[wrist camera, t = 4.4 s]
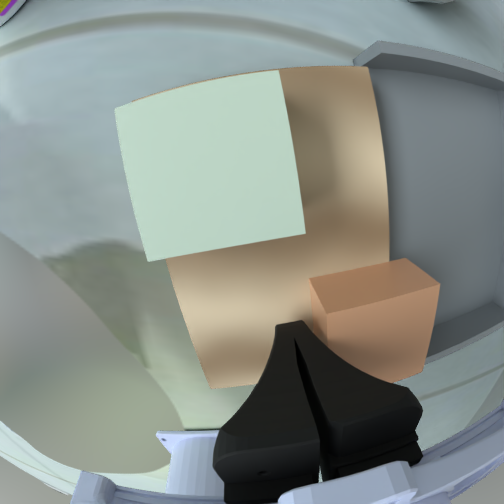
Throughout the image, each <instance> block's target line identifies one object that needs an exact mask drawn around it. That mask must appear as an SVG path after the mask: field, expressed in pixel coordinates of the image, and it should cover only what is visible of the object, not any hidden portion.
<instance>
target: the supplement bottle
mask: <svg viewBox="0 0 504 504" xmlns="http://www.w3.org/2000/svg"><path fill="white" fill-rule="evenodd" d="M25 1H26V0H0V26H1V25H2V24H4V23H5V22H6V21H7V20H8V19H10V18H11V17H12V16H13V15H14V14H15V13H16V12H17V11H18V9H19V8H20V7H21V6H22V5H23V4H24V2H25Z"/></svg>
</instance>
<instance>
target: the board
mask: <svg viewBox="0 0 504 504" xmlns="http://www.w3.org/2000/svg"><path fill="white" fill-rule="evenodd" d="M275 70H279V75H280V79H281V84H282V89H283V94H284V99H285V104H286V109H287V114H288V120H289V125H290V131H291V137H292V142H293V148H294V154H295V160H296V167H297V173H298V180H299V187H300V194H301V201H302V208H303V216H304V224H305V232H306V234H301V235H295V236H289V237H283V238H278V239H272V240H266V241H260V242H255V243H249V244H243V245H237V246H232V247H226V248H221V249H215V250H209V251H204V252H198V253H193V254H187V255H182V256H176V257H171V258H165V259H166V263H167V266H168V269H169V273H170V276H171V279H172V283H173V286H174V289H175V292H176V295H177V299H178V302H179V305H180V308H181V311H182V314H183V317H184V320H185V322H186V325H187V328H188V331H189V334H190V337H191V339H192V342H193V345H194V348H195V350H196V353H197V356H198V358H199V361H200V364H201V366H202V369H203V371H204V374H205V376H206V379H207V381H208V384H209V386H210V389H216V388H226V387H236V386H244V385H252V384H257V383H258V381H259V379H260V377H261V375H262V373H263V371H264V369H265V366H266V364H267V361H268V358H269V356H270V352H271V349H272V345H273V341H274V336H275V326H276V325H277V324H282V323H288V322H293V321H298V320H303V321H304V322H305V323H306V325H307V326H308V327H309V328H310V330H311V331H312V332H313V320H312V308H311V297H310V287H309V278H313V277H318V276H323V275H328V274H333V273H338V272H343V271H347V270H352V269H357V268H362V267H366V266H371V265H376V264H380V263H385V262H389V209H388V192H387V179H386V169H385V159H384V151H383V143H382V136H381V130H380V123H379V117H378V112H377V106H376V101H375V96H374V91H373V87H372V82H371V78H370V74H369V70H368V67H362V66H312V67H294V68H282V69H272V70H263V71H255V72H248V73H242V74H236V75H230V76H224V77H219V78H214V79H209V80H205V81H200V82H196V83H192V84H187V85H184V86H180V87H176V88H172V89H169V90H165V91H162V92H158V93H155V94H152V95H149V96H146V97H143V98H147V97H150V96H153V95H156V94H159V93H163V92H166V91H170V90H173V89H177V88H181V87H185V86H189V85H193V84H197V83H202V82H206V81H211V80H216V79H221V78H226V77H232V76H237V75H244V74H250V73H258V72H266V71H275ZM143 98H140V99H143ZM140 99H137V100H140ZM137 100H134V101H132V102H135V101H137ZM313 333H314V332H313Z"/></svg>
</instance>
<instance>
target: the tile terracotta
mask: <svg viewBox="0 0 504 504" xmlns="http://www.w3.org/2000/svg"><path fill="white" fill-rule="evenodd" d="M309 287H310V297H311V308H312V320H313V332H314V334H315V335H316V336H317V337H318V338H319V339H320V340H321V341H322V342H323V343H324V344H325V345H326V346H327V347H328V348H329V349H331V350H332V351H333V352H334V353H335V354H337V355H338V356H339V357H341V358H342V359H343V360H345V361H346V362H348V363H349V364H351V365H352V366H354V367H356V368H357V369H359V370H361V371H363V372H365V373H367V374H369V375H371V376H374V377H376V378H378V379H381V380H384V381H386V382H389V383H394V382H397V381H399V380H402V379H405V378H408V377H410V376H413V375H415V374H418V373H420V372H422V370H423V367H424V363H425V359H426V356H427V352H428V348H429V343H430V339H431V335H432V330H433V325H434V320H435V315H436V309H437V303H438V296H439V290H440V283H439V282H437V281H436V280H435V279H433V278H432V277H431V276H429V275H428V274H427V273H426V272H424V271H423V270H422V269H420V268H419V267H418V266H416V265H415V264H414V263H412V262H411V261H409V260H408V259H407V258H402V259H398V260H393V261H389V262H385V263H380V264H376V265H371V266H366V267H362V268H357V269H352V270H347V271H343V272H338V273H333V274H328V275H323V276H318V277H313V278H309Z"/></svg>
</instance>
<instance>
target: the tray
mask: <svg viewBox="0 0 504 504" xmlns="http://www.w3.org/2000/svg"><path fill="white" fill-rule="evenodd" d="M353 63H354V66H362V67H368V70H369V74H370V78H371V82H372V87H373V91H374V96H375V101H376V106H377V112H378V117H379V123H380V130H381V136H382V143H383V151H384V159H385V169H386V179H387V192H388V209H389V261H393V260H398V259H402V258H407V259H408V260H409V261H411V262H412V263H414V264H415V265H416V266H418V267H419V268H420V269H422V270H423V271H424V272H426V273H427V274H428V275H429V276H431V277H432V278H433V279H435V280H436V281H437V282H439V283H440V290H439V296H438V303H437V309H436V315H435V320H434V325H433V330H432V335H431V339H430V343H429V348H428V352H427V356H426V359H425V363H424V365H425V364H428V363H430V362H433V361H435V360H437V359H440V358H442V357H444V356H447V355H449V354H451V353H453V352H455V351H458V350H460V349H462V348H464V347H466V346H468V345H470V344H472V343H474V342H476V341H478V340H480V339H481V338H483V337H485V336H487V335H489V334H491V333H492V332H494V331H496V330H498V329H500V328H501V327H503V326H504V73H502V72H500V71H497V70H495V69H492V68H490V67H487V66H484V65H482V64H479V63H476V62H473V61H470V60H467V59H464V58H461V57H457V56H454V55H450V54H446V53H443V52H439V51H435V50H430V49H426V48H421V47H416V46H411V45H405V44H399V43H393V42H385V41H377V42H375V43H374V44H373V45H371V46H370V47H369V48H367V49H366V50H365V51H364V52H362V53H361V54H360V55H358V56H357V57H356V58H355V59H353Z"/></svg>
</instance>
